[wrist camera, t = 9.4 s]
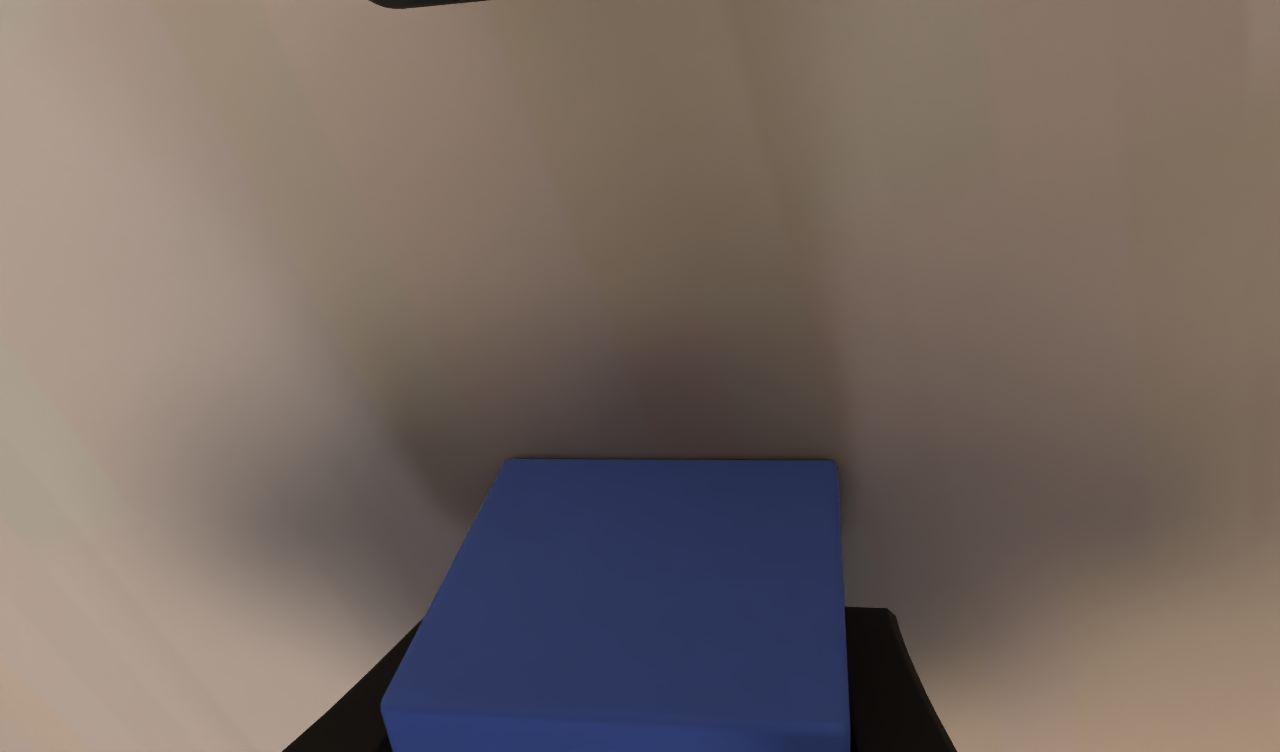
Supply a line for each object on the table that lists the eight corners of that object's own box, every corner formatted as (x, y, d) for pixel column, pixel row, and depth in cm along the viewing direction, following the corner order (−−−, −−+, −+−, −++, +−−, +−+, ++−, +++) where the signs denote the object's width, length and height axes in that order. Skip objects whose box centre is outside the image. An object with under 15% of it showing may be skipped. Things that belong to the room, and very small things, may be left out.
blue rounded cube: (504, 455, 13) (373, 705, 9) (837, 457, 12) (850, 731, 8) (548, 695, 15) (458, 983, 11) (837, 710, 14) (848, 1026, 10)
